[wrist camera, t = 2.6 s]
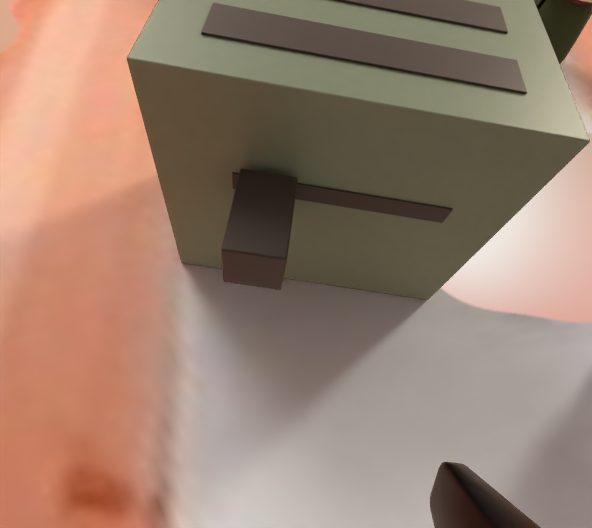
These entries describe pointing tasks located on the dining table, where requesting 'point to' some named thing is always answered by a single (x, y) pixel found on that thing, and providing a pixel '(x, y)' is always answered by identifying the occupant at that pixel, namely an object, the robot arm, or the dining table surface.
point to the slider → (259, 229)
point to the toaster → (356, 127)
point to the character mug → (563, 22)
